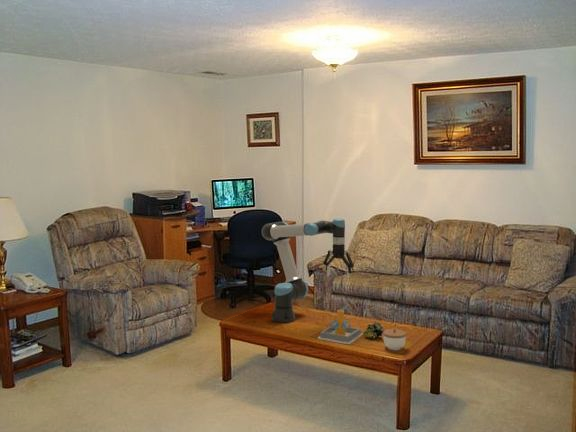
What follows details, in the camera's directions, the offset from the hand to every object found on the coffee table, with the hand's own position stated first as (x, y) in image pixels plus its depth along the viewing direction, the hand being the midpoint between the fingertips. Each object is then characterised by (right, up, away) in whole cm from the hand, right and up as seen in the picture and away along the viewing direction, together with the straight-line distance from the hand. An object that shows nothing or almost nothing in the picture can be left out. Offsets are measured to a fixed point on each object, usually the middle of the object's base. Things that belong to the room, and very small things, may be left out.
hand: (338, 277), depth 361 cm
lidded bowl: (+28, -36, -41) cm, 61 cm away
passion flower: (+19, -34, -24) cm, 45 cm away
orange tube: (-1, -32, -22) cm, 39 cm away
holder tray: (0, -33, -22) cm, 40 cm away
